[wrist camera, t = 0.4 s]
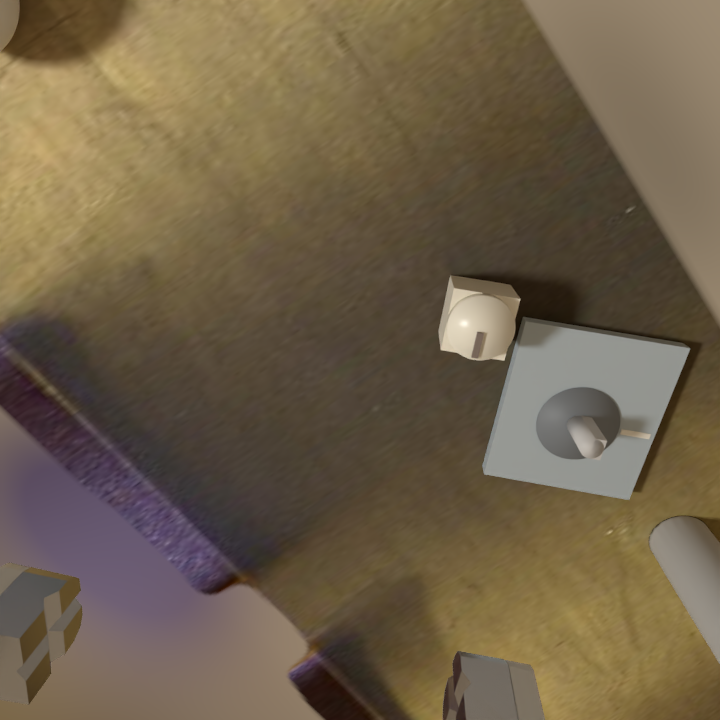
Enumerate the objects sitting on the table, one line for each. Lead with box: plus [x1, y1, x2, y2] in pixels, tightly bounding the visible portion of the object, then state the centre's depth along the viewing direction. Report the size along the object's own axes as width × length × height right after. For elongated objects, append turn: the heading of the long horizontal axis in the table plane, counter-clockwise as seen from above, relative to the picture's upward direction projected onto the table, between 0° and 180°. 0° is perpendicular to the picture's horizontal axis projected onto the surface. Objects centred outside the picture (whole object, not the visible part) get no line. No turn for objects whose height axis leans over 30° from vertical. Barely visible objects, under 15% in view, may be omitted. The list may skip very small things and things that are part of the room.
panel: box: [482, 317, 690, 500], centre depth 53 cm, size 18×16×7 cm
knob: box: [439, 275, 521, 361], centre depth 50 cm, size 6×6×7 cm
